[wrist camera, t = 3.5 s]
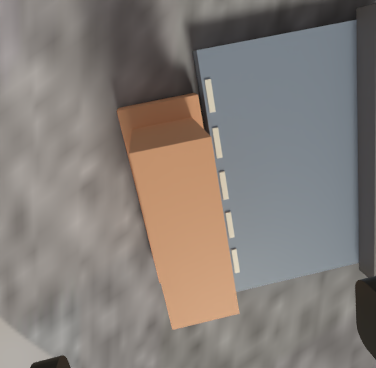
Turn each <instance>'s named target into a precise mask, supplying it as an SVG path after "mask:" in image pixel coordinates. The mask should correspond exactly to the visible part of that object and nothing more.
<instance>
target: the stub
mask: <svg viewBox="0 0 376 368" xmlns="http://www.w3.org/2000/svg"><path fill="white" fill-rule="evenodd" d="M117 114H118V118H119V122H120V126H121V130H122V134H123V138H124V142H125V146H126V150H127V154H128V158H129V162H130V166H131V170H132V174H133V178H134V182H135V186H136V190H137V194H138V198H139V202H140V206H141V210H142V214H143V218H144V222H145V226H146V230H147V234H148V238H149V242H150V246H151V250H152V254H153V258H154V263H155V267H156V271H157V275H158V279H159V283H161V285H162V289H163V293H164V297H165V301H166V305H167V309H168V313H169V318H170V322H171V326H172V330H174V329H178V328H182V327H186V326H190V325H194V324H198V323H203V322H207V321H211V320H215V319H219V318H223V317H227V316H231V315H235V314H239V308H238V301H237V295H236V289H235V282H234V276H233V270H232V264H231V257H230V251H229V245H228V238H227V232H226V226H225V220H224V213H223V207H222V201H221V195H220V188H219V182H218V176H217V169H216V163H215V157H214V151H213V144H212V138H211V136H210V135H209V134H208V133H207V132H206V131H205V130H204V127H203V121H202V115H201V109H200V103H199V97H198V94H196V93H191V94H186V95H181V96H176V97H171V98H166V99H161V100H156V101H151V102H146V103H141V104H136V105H131V106H126V107H121V108H118V109H117Z"/></svg>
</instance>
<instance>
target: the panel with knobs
mask: <svg viewBox="0 0 376 368" xmlns="http://www.w3.org/2000/svg"><path fill="white" fill-rule="evenodd" d="M356 17H357V20H352V21H347V22H342V23H336V24H331V25H326V26H321V27H315V28H310V29H305V30H300V31H295V32H289V33H284V34H279V35H274V36H268V37H263V38H258V39H253V40H248V41H242V42H237V43H232V44H227V45H221V46H216V47H211V48H206V49H201V50H196V51H193V55H194V61H195V67H196V73H197V79H198V85H199V92H200V98H201V104H202V110H203V116H204V122H205V128H206V132H207V133H208V134H209V135H210V136H211V138H212V144H213V151H214V157H215V163H216V169H217V176H218V182H219V188H220V195H221V201H222V207H223V213H224V220H225V226H226V232H227V238H228V245H229V251H230V257H231V264H232V270H233V276H234V282H235V289H236V292H238V291H243V290H247V289H251V288H255V287H259V286H263V285H268V284H272V283H276V282H280V281H284V280H289V279H293V278H297V277H301V276H305V275H310V274H314V273H318V272H322V271H326V270H330V269H335V268H339V267H343V266H347V265H351V264H356V263H359V270H360V271H361V272H362V273H364V274H365V275H366V276H367V277H368V278H369V277H373V276H376V3H375V4H371V5H367V6H364V7H360V8H356Z"/></svg>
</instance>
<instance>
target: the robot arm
mask: <svg viewBox="0 0 376 368" xmlns="http://www.w3.org/2000/svg"><path fill="white" fill-rule="evenodd" d="M355 293H356V323H357V329H358V333H359V335H360V338H361V340H362V342H363V344H364V345H365V347H366V348H367V350H368V351H369V352H370V353H371V354H372V356H373V357H374V358H375V359H376V276H373V277H369V278H365V279H362V280H358V281H357V282H356V285H355ZM30 368H71V367H70V365H69V362H68V360H67V358H66V357H65V356H58V357H54V358H51V359H47V360H43V361H39V362H35V363H33V364H32V365H31V367H30Z"/></svg>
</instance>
